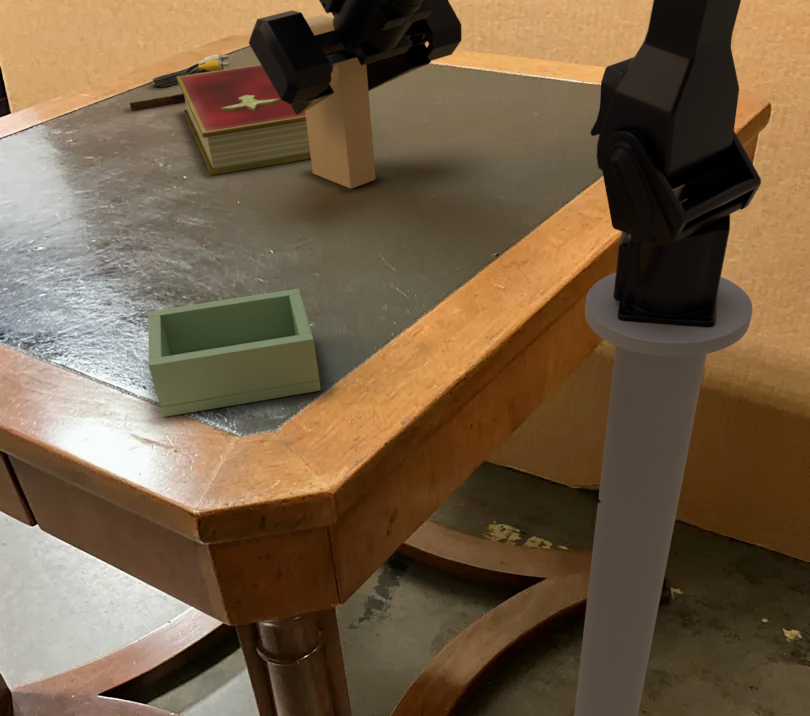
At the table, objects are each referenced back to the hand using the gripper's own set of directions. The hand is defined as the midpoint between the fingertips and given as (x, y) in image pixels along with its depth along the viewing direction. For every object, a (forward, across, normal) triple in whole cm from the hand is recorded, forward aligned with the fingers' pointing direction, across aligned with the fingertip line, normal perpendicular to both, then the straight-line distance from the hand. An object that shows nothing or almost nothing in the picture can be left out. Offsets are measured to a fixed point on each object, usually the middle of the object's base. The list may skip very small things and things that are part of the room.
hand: (326, 99), depth 82 cm
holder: (-12, +27, +22) cm, 37 cm away
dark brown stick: (+28, -4, -18) cm, 33 cm away
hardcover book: (+16, -1, -7) cm, 18 cm away
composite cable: (+33, -8, -24) cm, 42 cm away
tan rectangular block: (+4, 0, +6) cm, 7 cm away
